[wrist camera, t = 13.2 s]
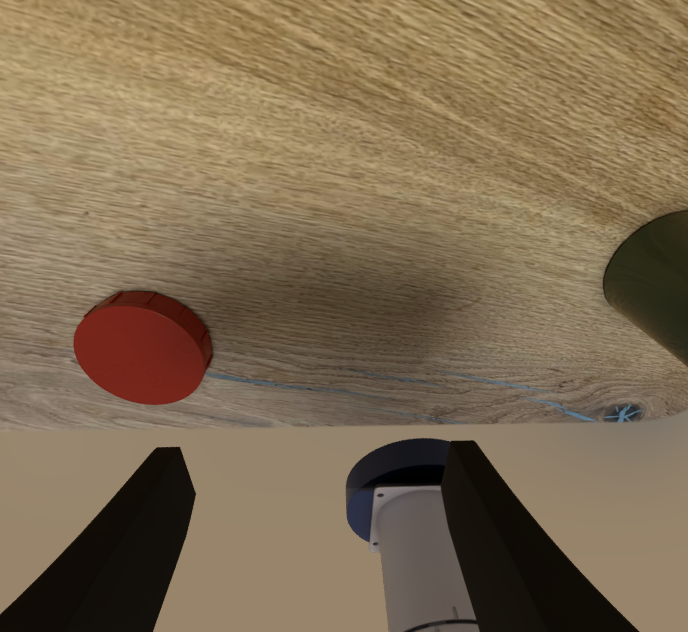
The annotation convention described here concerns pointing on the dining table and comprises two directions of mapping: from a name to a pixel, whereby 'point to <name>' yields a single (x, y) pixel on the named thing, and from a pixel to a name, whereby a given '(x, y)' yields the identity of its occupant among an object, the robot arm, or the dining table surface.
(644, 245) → the jam jar
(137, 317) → the jar lid
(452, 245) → the dining table surface
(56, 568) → the robot arm
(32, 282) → the dining table surface
